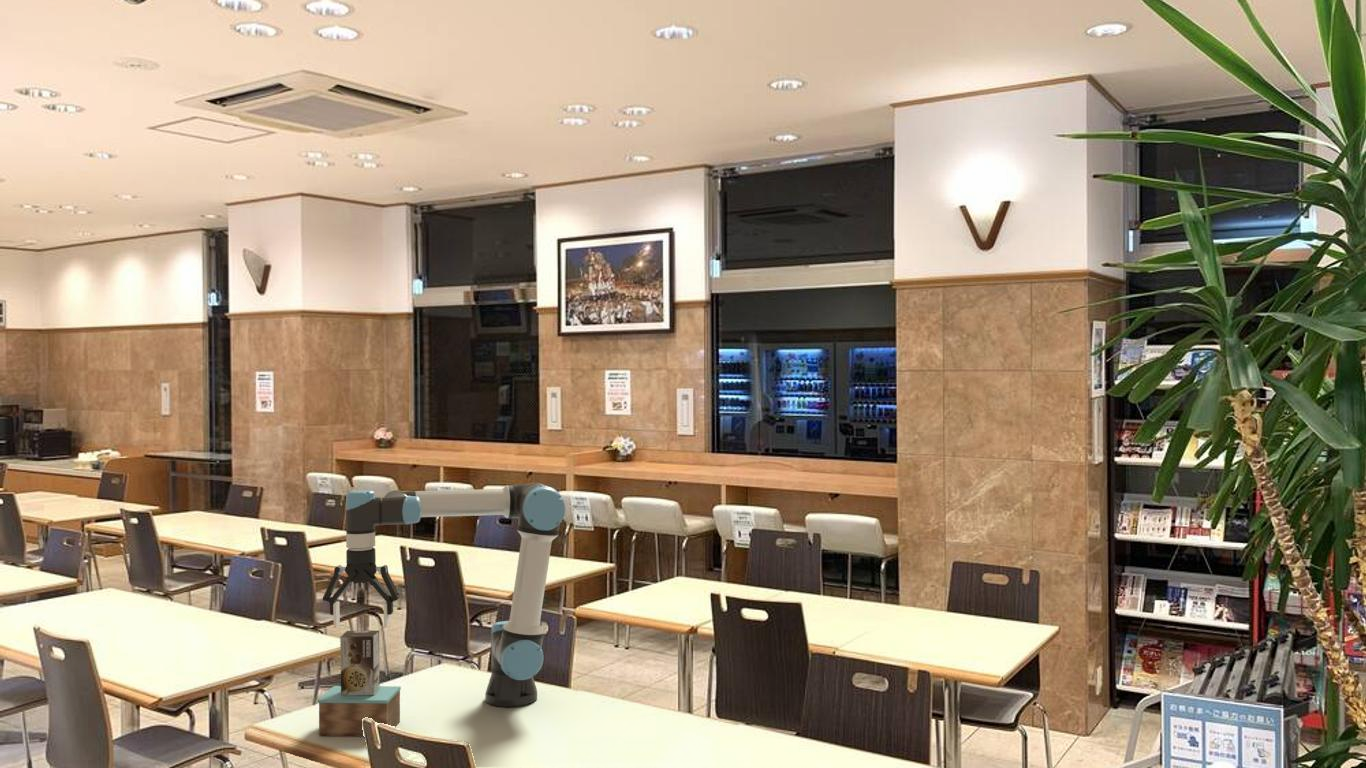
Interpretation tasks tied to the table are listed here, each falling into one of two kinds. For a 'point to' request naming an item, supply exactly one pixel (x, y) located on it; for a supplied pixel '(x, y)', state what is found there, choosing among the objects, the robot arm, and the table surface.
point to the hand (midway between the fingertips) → (361, 626)
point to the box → (356, 716)
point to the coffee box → (359, 663)
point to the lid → (360, 696)
